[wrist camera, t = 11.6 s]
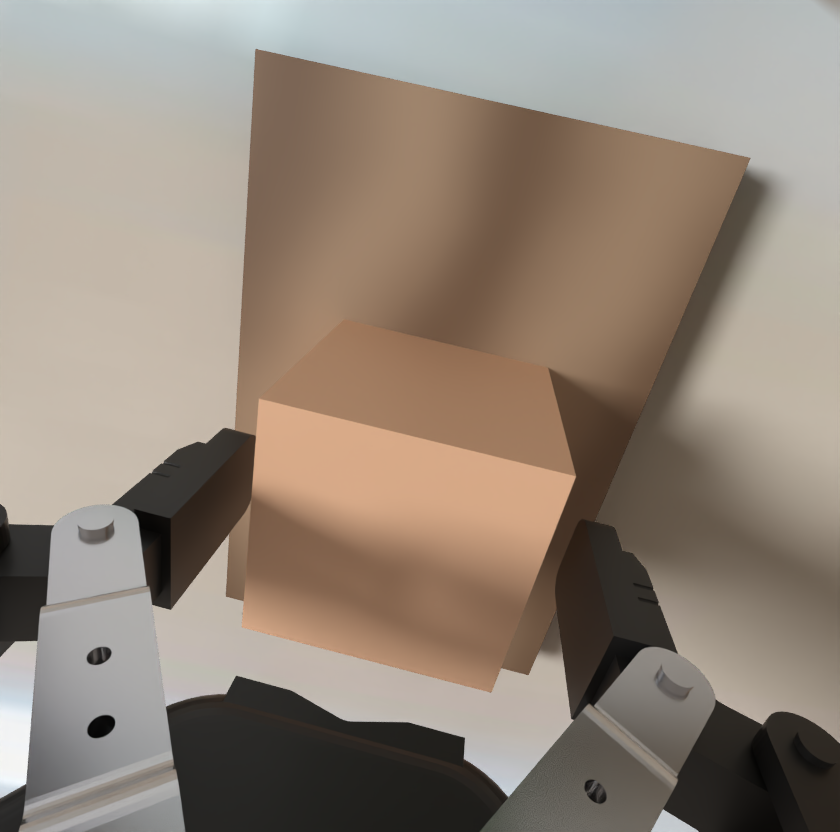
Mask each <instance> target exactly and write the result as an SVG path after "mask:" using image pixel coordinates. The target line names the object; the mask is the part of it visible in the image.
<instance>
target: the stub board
mask: <svg viewBox="0 0 840 832" xmlns="http://www.w3.org/2000/svg"><path fill="white" fill-rule="evenodd" d="M749 161H750V158H748V157H744V156H739V155H735V154H730V153H726V152H721V151H717V150H712V149H707V148H703V147H698V146H694V145H689V144H685V143H680V142H676V141H671V140H667V139H662V138H657V137H653V136H648V135H644V134H639V133H635V132H630V131H626V130H621V129H617V128H612V127H608V126H603V125H598V124H594V123H589V122H585V121H580V120H576V119H571V118H567V117H562V116H558V115H553V114H548V113H544V112H539V111H535V110H530V109H526V108H521V107H517V106H512V105H508V104H503V103H499V102H494V101H489V100H485V99H480V98H476V97H471V96H467V95H462V94H458V93H453V92H449V91H444V90H439V89H435V88H430V87H426V86H421V85H417V84H412V83H408V82H403V81H399V80H394V79H390V78H385V77H380V76H376V75H371V74H367V73H362V72H358V71H353V70H349V69H344V68H340V67H335V66H330V65H326V64H321V63H317V62H312V61H308V60H303V59H299V58H294V57H290V56H285V55H281V54H276V53H271V52H267V51H262V50H258V49H256V50H255V69H254V87H253V106H252V124H251V143H250V161H249V180H248V198H247V217H246V235H245V253H244V272H243V290H242V309H241V327H240V346H239V364H238V383H237V401H236V420H235V430H236V431H240V432H244V433H248V434H252V435H255V436H256V430H257V416H258V403H259V398H260V397H261V396H262V395H263V394H264V393H265V392H266V391H268V390H269V389H270V388H271V387H272V386H273V385H274V384H275V383H276V382H277V381H278V380H279V379H280V378H281V377H283V376H284V375H285V374H286V373H287V372H288V371H289V370H290V369H291V368H292V367H293V366H294V365H295V364H297V363H298V362H299V361H300V360H301V359H302V358H303V357H304V356H305V355H306V354H307V353H308V352H309V351H310V350H312V349H313V348H314V347H315V346H316V345H317V344H318V343H319V342H320V341H321V340H322V339H323V338H324V337H326V336H327V335H328V334H329V333H330V332H331V331H332V330H333V329H334V328H335V327H336V326H337V325H338V324H339V323H341V322H342V321H343V320H344V319H345V320H350V321H354V322H358V323H362V324H366V325H371V326H375V327H379V328H383V329H387V330H392V331H396V332H400V333H404V334H409V335H413V336H417V337H421V338H425V339H430V340H434V341H438V342H442V343H446V344H451V345H455V346H459V347H463V348H467V349H472V350H476V351H480V352H484V353H488V354H493V355H497V356H501V357H505V358H509V359H514V360H518V361H522V362H526V363H530V364H535V365H539V366H543V367H547V368H548V369H549V373H550V377H551V381H552V385H553V389H554V393H555V397H556V400H557V404H558V408H559V412H560V416H561V420H562V424H563V428H564V431H565V435H566V439H567V443H568V447H569V451H570V455H571V458H572V462H573V466H574V470H575V474H576V478H575V481H574V483H573V486H572V488H571V491H570V493H569V496H568V498H567V501H566V504H565V506H564V509H563V511H562V514H561V516H560V519H559V521H558V524H557V526H556V529H555V532H554V534H553V537H552V539H551V542H550V544H549V547H548V549H547V552H546V554H545V557H544V560H543V562H542V565H541V567H540V570H539V572H538V575H537V577H536V580H535V583H534V585H533V588H532V590H531V593H530V595H529V598H528V600H527V603H526V605H525V608H524V611H523V613H522V616H521V618H520V621H519V623H518V626H517V628H516V631H515V634H514V636H513V639H512V641H511V644H510V646H509V649H508V651H507V654H506V656H505V659H504V662H503V664H502V667H501V668H503V669H507V670H511V671H515V672H518V673H522V674H526V675H529V673H530V670H531V668H532V666H533V663H534V661H535V659H536V656H537V654H538V652H539V649H540V647H541V645H542V642H543V640H544V638H545V635H546V633H547V631H548V628H549V626H550V624H551V621H552V619H553V617H554V614H555V612H556V610H557V606H556V599H555V582H556V577H557V572H558V569H559V567H560V564H561V562H562V559H563V557H564V554H565V552H566V550H567V547H568V545H569V542H570V540H571V538H572V535H573V533H574V530H575V528H576V526H577V524H578V522H579V521H580V520H581V519H584V520H588V521H592V522H594V521H595V519H596V517H597V514H598V512H599V510H600V507H601V505H602V503H603V500H604V498H605V496H606V493H607V491H608V489H609V486H610V484H611V482H612V479H613V477H614V475H615V472H616V470H617V468H618V466H619V463H620V461H621V459H622V456H623V454H624V452H625V449H626V447H627V445H628V442H629V440H630V438H631V435H632V433H633V431H634V428H635V426H636V424H637V421H638V419H639V417H640V414H641V412H642V410H643V407H644V405H645V403H646V400H647V398H648V396H649V393H650V391H651V389H652V386H653V384H654V382H655V379H656V377H657V375H658V372H659V370H660V368H661V365H662V363H663V361H664V358H665V356H666V354H667V351H668V349H669V347H670V344H671V342H672V340H673V337H674V335H675V333H676V330H677V328H678V326H679V324H680V321H681V319H682V317H683V314H684V312H685V310H686V307H687V305H688V303H689V300H690V298H691V296H692V293H693V291H694V289H695V286H696V284H697V282H698V279H699V277H700V275H701V272H702V270H703V268H704V265H705V263H706V261H707V258H708V256H709V254H710V251H711V249H712V247H713V244H714V242H715V240H716V237H717V235H718V233H719V230H720V228H721V226H722V223H723V221H724V219H725V216H726V214H727V212H728V209H729V207H730V205H731V202H732V200H733V198H734V195H735V193H736V191H737V189H738V186H739V184H740V182H741V179H742V177H743V175H744V172H745V170H746V168H747V165H748V163H749ZM250 511H251V501H250V504H249V506H248V508H247V510H246V512H245V513H244V515H243V516H242V517H241V519H240V520H239V521H238V523H237V524H236V525H235V526H234V528H233V529H232V530H231V532H230V533H229V549H228V568H227V586H226V597H230V598H234V599H238V600H242V601H244V592H245V578H246V565H247V551H248V538H249V524H250Z"/></svg>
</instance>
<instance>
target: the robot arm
mask: <svg viewBox="0 0 840 832" xmlns="http://www.w3.org/2000/svg"><path fill="white" fill-rule="evenodd" d="M255 443H256V436H255V435H252V434H248V433H244V432H240V431H236V430H232V429H228V428H224V429H222V430H221V431H220V432H219V433H217V434H216V435H215V436H214V437H213V438H212V439H211V440H210V441H209V442H207V443H206V444H205V443H201V442H196V443H193V444H191V445H188V446H186V447H183V448H181V449H178V450H177V451H176V452H174V453H173V454H172V455H171V456H170V457H168V458H167V459H166V460H165V461H164V463H163V464H160V465H159V466H158V467H156V468H155V469H154V470H153V472H152V474H151V473H149V474H148V475H147V476H146V477H145V478H143V479H142V480H141V481H140V482H139V483H137V484H136V485H135V486H134V487H133V488H131V489H130V490H129V491H128V492H127V493H126V494H124V495H123V496H122V497H121V498H120V499H118V500H117V501H116V502H115V503H114V504H112V505H94V506H88V507H84V508H80V509H78V510H75V511H73V512H71V513H68V514H67V515H65V516H64V517H62V518H61V519H60V520H59V521H58V522H57V523H56V524H55V525H14V524H8V518H7V512H6V509H5V508H4V507H3V506H2V505H1V504H0V657H1V655H2V654H3V653H4V652H5V651H6V650H7V649H8V648H9V647H10V646H11V645H12V644H13V643H14V642H15V641H38V642H37V654H36V667H35V680H34V693H33V705H32V718H31V731H30V743H29V756H28V769H27V782H26V784H25V785H24V786H22V787H20V788H18V789H17V790H15V791H13V792H11V793H9V794H8V795H6V796H4V797H2V798H1V799H0V832H651V830H652V828H653V827H654V825H655V823H656V821H657V819H658V817H659V815H660V814H661V812H662V810H663V809H664V810H665V811H667V812H669V813H670V814H672V815H674V816H675V817H677V818H678V819H680V820H682V821H683V822H685V823H687V824H688V825H690V826H692V827H693V828H695V829H697V830H698V831H699V832H840V743H839V742H837V741H836V740H835V739H834V738H833V737H832V736H831V735H830V734H828V733H827V732H826V731H825V730H823V729H822V728H821V727H819V726H818V725H816V724H815V723H813V722H811V721H810V720H808V719H806V718H803V717H801V716H799V715H796V714H793V713H789V712H775V713H773V714H771V715H770V716H769V717H768V719H767V720H766V721H765V723H764V724H763V725H762V724H760V723H758V722H756V721H754V720H752V719H750V718H748V717H746V716H744V715H742V714H740V713H739V712H737V711H735V710H733V709H731V708H729V707H727V706H725V705H724V704H722V703H720V702H718V701H717V700H716V699H715V694H714V691H713V689H712V687H711V685H710V683H709V681H708V680H707V679H706V677H705V676H704V675H703V674H702V672H701V671H700V670H699V669H698V668H697V667H696V666H694V665H693V664H692V663H691V662H690V661H688V660H687V659H685V658H684V657H682V656H680V655H679V654H678V653H677V650H676V647H675V645H674V642H673V639H672V637H671V634H670V631H669V629H668V626H667V623H666V621H665V618H664V615H663V613H662V610H661V607H660V606H658V603H659V602H658V599H657V597H656V594H655V591H653V586H652V583H651V581H650V578H649V575H648V573H647V570H646V569H645V568H644V567H643V566H642V564H641V563H640V562H639V561H638V560H637V558H636V557H635V556H634V555H633V554H632V553H629V552H625V551H622V548H621V545H620V542H619V539H618V536H617V533H616V530H615V528H614V527H612V526H608V525H604V524H600V523H596V522H592V521H588V520H584V519H581V520H580V521H579V522H578V524H577V526H576V528H575V530H574V533H573V535H572V538H571V540H570V542H569V545H568V547H567V550H566V552H565V554H564V557H563V559H562V562H561V564H560V567H559V569H558V572H557V577H556V582H555V599H556V606H557V614H558V622H559V629H560V637H561V644H562V652H563V660H564V667H565V675H566V682H567V690H568V697H569V705H570V713H571V719H573V720H574V721H573V722H572V723H571V725H570V726H569V727H568V728H567V729H566V731H565V732H564V733H563V734H562V735H561V736H560V738H559V739H558V740H557V741H556V742H555V743H554V745H553V746H552V747H551V748H550V749H549V751H548V752H547V753H546V754H545V755H544V756H543V758H542V759H541V760H540V761H539V762H538V763H537V765H536V766H535V767H534V768H533V769H532V770H531V772H530V773H529V774H528V775H527V776H526V778H525V779H524V780H523V781H522V782H521V783H520V785H519V786H518V787H517V788H516V789H515V790H514V792H513V793H512V794H511V795H510V796H509V797H508V796H507V795H506V794H505V793H504V792H503V791H502V790H501V789H500V787H499V786H498V785H497V784H496V783H495V782H494V781H493V780H492V779H490V778H489V777H488V776H487V775H486V774H485V773H484V772H482V771H481V770H480V769H478V768H477V767H475V766H474V765H473V764H471V763H469V762H468V761H466V760H464V743H465V738H463V737H459V736H456V735H452V734H448V733H445V732H441V731H437V730H434V729H430V728H426V727H423V726H419V725H415V724H412V723H408V722H350V721H345V720H342V719H340V718H338V717H336V716H335V715H333V714H331V713H329V712H328V711H326V710H324V709H322V708H321V707H319V706H317V705H315V704H314V703H312V702H310V701H309V700H307V699H305V698H303V697H302V696H300V695H298V694H296V693H295V692H293V691H290V690H287V689H283V688H279V687H276V686H272V685H268V684H265V683H261V682H257V681H254V680H250V679H246V678H243V677H239V676H236V677H235V679H234V681H233V683H232V685H231V687H230V688H229V690H228V692H227V694H216V695H206V696H200V697H195V698H190V699H186V700H183V701H180V702H177V703H174V704H171V705H169V706H167V707H166V704H165V696H164V689H163V682H162V674H161V667H160V659H159V652H158V645H157V637H156V630H155V623H154V615H153V608H152V605H155V606H159V607H162V608H166V609H170V610H171V609H172V608H173V606H174V605H175V604H176V602H177V601H178V600H179V598H180V597H181V596H182V594H183V593H184V592H185V591H186V589H187V588H188V587H189V585H190V584H191V583H192V581H193V580H194V579H195V577H196V576H197V575H198V574H199V572H200V571H201V570H202V568H203V567H204V566H205V564H206V563H207V562H208V560H209V559H210V558H211V557H212V555H213V554H214V553H215V551H216V550H217V549H218V547H219V546H220V545H221V543H222V542H223V541H224V540H225V538H226V537H227V536H228V534H229V533H230V532H231V530H232V529H233V528H234V526H235V525H236V524H237V523H238V521H239V520H240V519H241V517H242V516H243V515H244V513H245V512H246V510H247V508H248V506H249V504H250V501H251V497H252V484H253V470H254V457H255Z"/></svg>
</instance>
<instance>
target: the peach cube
mask: <svg viewBox="0 0 840 832" xmlns="http://www.w3.org/2000/svg"><path fill="white" fill-rule="evenodd" d="M575 478H576V474H575V470H574V466H573V462H572V458H571V455H570V451H569V447H568V443H567V439H566V435H565V431H564V428H563V424H562V420H561V416H560V412H559V408H558V404H557V400H556V397H555V393H554V389H553V385H552V381H551V377H550V373H549V369H548V368H547V367H543V366H539V365H535V364H530V363H526V362H522V361H518V360H514V359H509V358H505V357H501V356H497V355H493V354H488V353H484V352H480V351H476V350H472V349H467V348H463V347H459V346H455V345H451V344H446V343H442V342H438V341H434V340H430V339H425V338H421V337H417V336H413V335H409V334H404V333H400V332H396V331H392V330H387V329H383V328H379V327H375V326H371V325H366V324H362V323H358V322H354V321H350V320H345V319H344V320H343V321H342V322H341V323H339V324H338V325H337V326H336V327H335V328H334V329H333V330H332V331H331V332H330V333H329V334H328V335H327V336H326V337H324V338H323V339H322V340H321V341H320V342H319V343H318V344H317V345H316V346H315V347H314V348H313V349H312V350H310V351H309V352H308V353H307V354H306V355H305V356H304V357H303V358H302V359H301V360H300V361H299V362H298V363H297V364H295V365H294V366H293V367H292V368H291V369H290V370H289V371H288V372H287V373H286V374H285V375H284V376H283V377H281V378H280V379H279V380H278V381H277V382H276V383H275V384H274V385H273V386H272V387H271V388H270V389H269V390H268V391H266V392H265V393H264V394H263V395H262V396H261V397H260V398H259V403H258V416H257V430H256V443H255V457H254V470H253V484H252V497H251V511H250V524H249V538H248V551H247V565H246V578H245V592H244V605H243V619H242V627H243V628H247V629H250V630H254V631H258V632H262V633H266V634H269V635H273V636H277V637H281V638H285V639H289V640H292V641H296V642H300V643H304V644H308V645H311V646H315V647H319V648H323V649H327V650H331V651H334V652H338V653H342V654H346V655H350V656H353V657H357V658H361V659H365V660H369V661H373V662H376V663H380V664H384V665H388V666H392V667H395V668H399V669H403V670H407V671H411V672H415V673H418V674H422V675H426V676H430V677H434V678H437V679H441V680H445V681H449V682H453V683H457V684H460V685H464V686H468V687H472V688H476V689H479V690H483V691H487V692H492V690H493V687H494V684H495V682H496V679H497V677H498V674H499V672H500V669H501V667H502V664H503V662H504V659H505V656H506V654H507V651H508V649H509V646H510V644H511V641H512V639H513V636H514V634H515V631H516V628H517V626H518V623H519V621H520V618H521V616H522V613H523V611H524V608H525V605H526V603H527V600H528V598H529V595H530V593H531V590H532V588H533V585H534V583H535V580H536V577H537V575H538V572H539V570H540V567H541V565H542V562H543V560H544V557H545V554H546V552H547V549H548V547H549V544H550V542H551V539H552V537H553V534H554V532H555V529H556V526H557V524H558V521H559V519H560V516H561V514H562V511H563V509H564V506H565V504H566V501H567V498H568V496H569V493H570V491H571V488H572V486H573V483H574V481H575Z"/></svg>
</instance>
